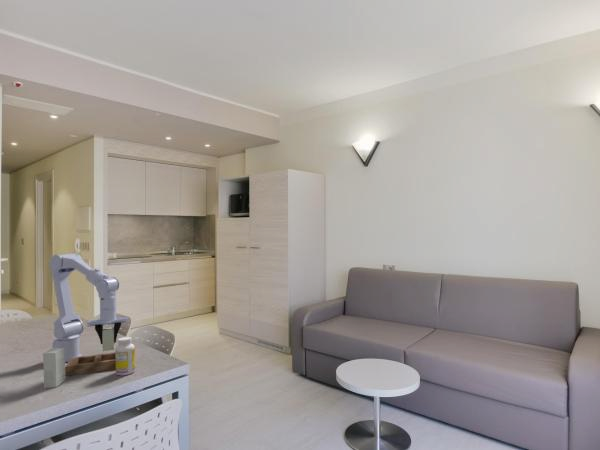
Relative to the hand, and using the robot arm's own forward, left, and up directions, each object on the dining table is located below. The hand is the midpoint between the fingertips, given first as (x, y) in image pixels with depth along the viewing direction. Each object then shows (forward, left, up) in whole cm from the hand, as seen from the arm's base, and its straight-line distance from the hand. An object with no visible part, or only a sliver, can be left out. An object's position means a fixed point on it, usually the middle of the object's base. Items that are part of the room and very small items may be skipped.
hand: (108, 342), depth 152 cm
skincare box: (-16, -13, -9) cm, 23 cm away
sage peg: (0, 0, -3) cm, 3 cm away
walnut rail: (-4, 0, -9) cm, 10 cm away
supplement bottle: (+6, -11, -9) cm, 16 cm away
